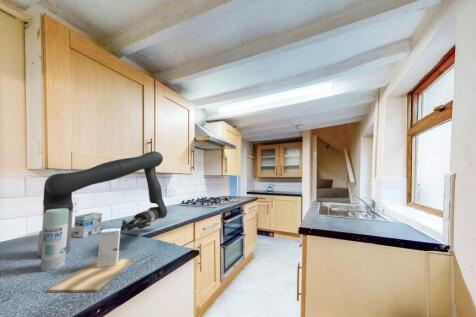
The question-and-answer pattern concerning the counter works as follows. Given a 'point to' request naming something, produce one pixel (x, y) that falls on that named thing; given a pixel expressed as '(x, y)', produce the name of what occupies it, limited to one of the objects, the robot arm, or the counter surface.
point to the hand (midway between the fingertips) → (125, 228)
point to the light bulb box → (87, 224)
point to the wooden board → (90, 277)
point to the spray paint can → (54, 239)
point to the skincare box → (108, 247)
